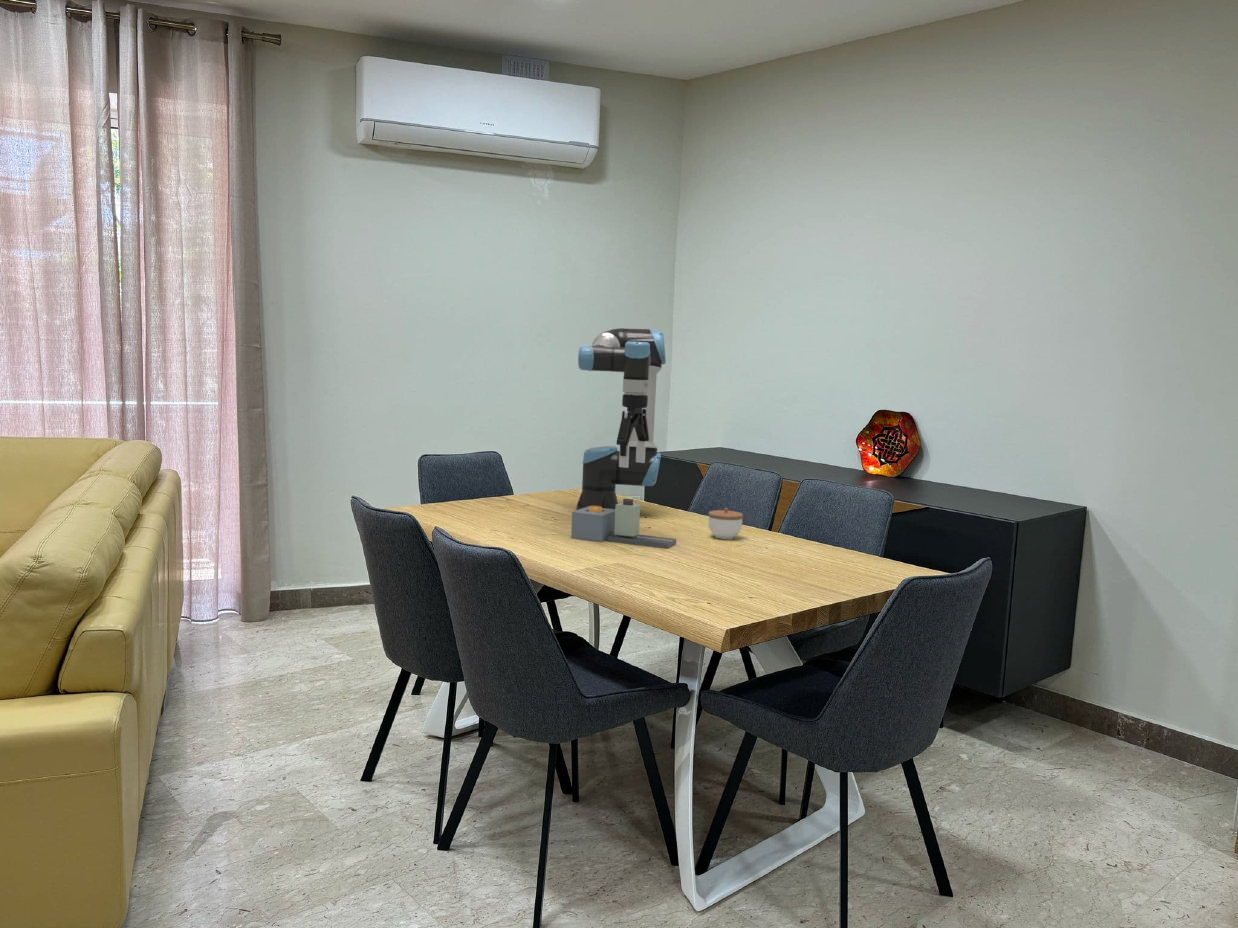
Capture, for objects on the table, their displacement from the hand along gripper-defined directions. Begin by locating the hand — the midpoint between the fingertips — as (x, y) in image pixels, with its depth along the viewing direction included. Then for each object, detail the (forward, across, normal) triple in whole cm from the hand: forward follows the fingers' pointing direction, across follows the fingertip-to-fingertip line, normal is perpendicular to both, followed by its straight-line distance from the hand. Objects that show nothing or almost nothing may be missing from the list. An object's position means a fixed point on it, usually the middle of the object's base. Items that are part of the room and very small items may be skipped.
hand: (632, 464), depth 281 cm
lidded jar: (+23, +20, -24) cm, 39 cm away
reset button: (+20, -2, +11) cm, 22 cm away
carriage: (+21, -2, 0) cm, 21 cm away
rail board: (+23, -2, -5) cm, 23 cm away
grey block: (+23, -2, +11) cm, 25 cm away
